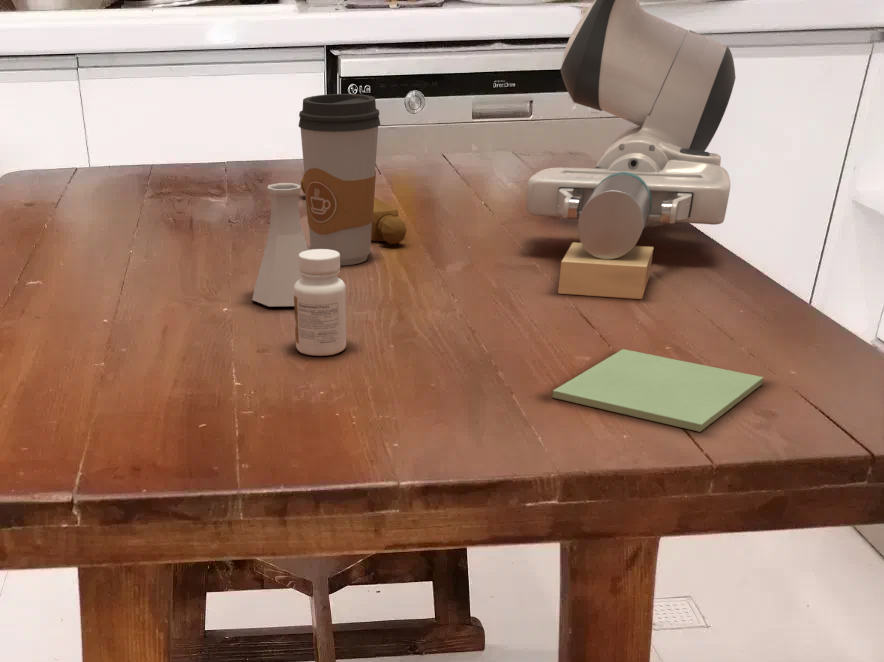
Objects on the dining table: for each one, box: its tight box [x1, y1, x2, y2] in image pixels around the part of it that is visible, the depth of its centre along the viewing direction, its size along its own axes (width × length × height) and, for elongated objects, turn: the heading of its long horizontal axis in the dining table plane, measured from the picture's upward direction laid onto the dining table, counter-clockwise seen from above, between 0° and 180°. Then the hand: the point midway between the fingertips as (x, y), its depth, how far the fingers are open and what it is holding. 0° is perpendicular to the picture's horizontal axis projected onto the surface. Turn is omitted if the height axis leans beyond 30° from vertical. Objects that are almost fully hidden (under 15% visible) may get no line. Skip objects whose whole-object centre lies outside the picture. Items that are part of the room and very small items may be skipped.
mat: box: [551, 348, 764, 433], centre depth 85 cm, size 12×12×1 cm
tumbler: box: [577, 172, 652, 259], centre depth 107 cm, size 9×6×6 cm
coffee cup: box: [298, 93, 381, 266], centre depth 114 cm, size 8×8×15 cm
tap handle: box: [300, 175, 407, 245], centre depth 132 cm, size 3×3×30 cm
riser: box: [557, 241, 655, 300], centre depth 108 cm, size 8×8×3 cm
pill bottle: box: [293, 249, 347, 357], centre depth 93 cm, size 4×4×8 cm
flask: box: [252, 182, 310, 307], centre depth 104 cm, size 7×7×10 cm
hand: (618, 212), depth 108 cm, fingers open, 8 cm apart
